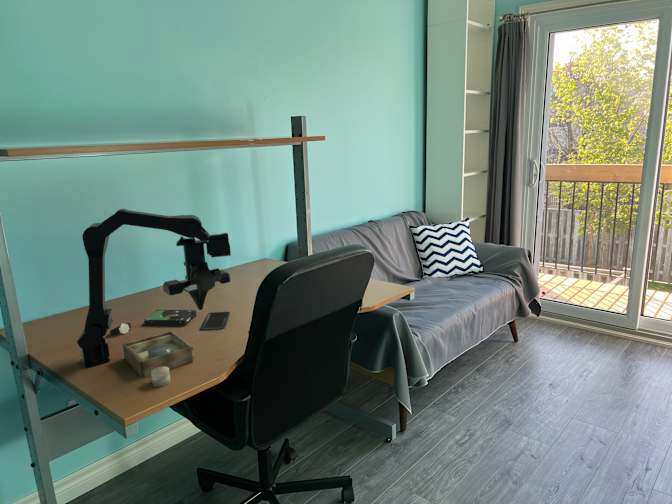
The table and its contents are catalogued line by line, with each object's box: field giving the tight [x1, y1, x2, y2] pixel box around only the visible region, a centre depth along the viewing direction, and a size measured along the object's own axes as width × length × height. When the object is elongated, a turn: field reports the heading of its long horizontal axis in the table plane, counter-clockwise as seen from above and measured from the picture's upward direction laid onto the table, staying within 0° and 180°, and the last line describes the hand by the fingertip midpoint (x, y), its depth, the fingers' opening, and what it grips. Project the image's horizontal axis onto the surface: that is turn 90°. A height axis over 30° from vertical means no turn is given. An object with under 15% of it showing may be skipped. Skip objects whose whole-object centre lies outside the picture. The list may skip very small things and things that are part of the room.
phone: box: [200, 311, 231, 331], centre depth 172 cm, size 8×1×15 cm
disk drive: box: [143, 309, 197, 327], centre depth 174 cm, size 10×3×15 cm
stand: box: [151, 366, 171, 388], centre depth 130 cm, size 4×4×4 cm
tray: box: [128, 330, 195, 361], centre depth 143 cm, size 15×15×4 cm
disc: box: [148, 344, 174, 359], centre depth 143 cm, size 7×7×2 cm
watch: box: [109, 322, 132, 337], centre depth 165 cm, size 8×5×4 cm, turn 158°
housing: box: [122, 331, 194, 379], centre depth 143 cm, size 14×16×4 cm
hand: (200, 309), depth 149 cm, fingers closed
